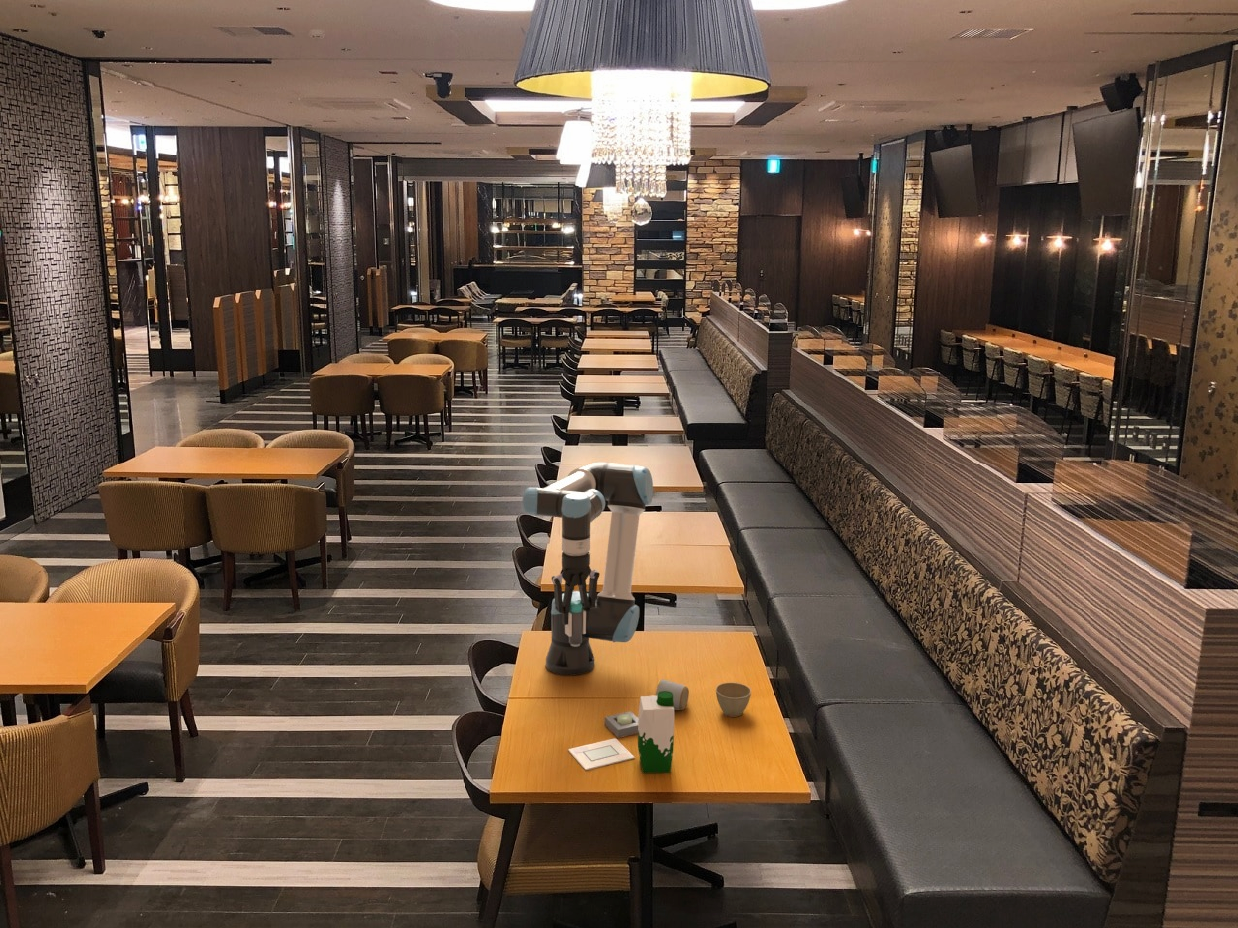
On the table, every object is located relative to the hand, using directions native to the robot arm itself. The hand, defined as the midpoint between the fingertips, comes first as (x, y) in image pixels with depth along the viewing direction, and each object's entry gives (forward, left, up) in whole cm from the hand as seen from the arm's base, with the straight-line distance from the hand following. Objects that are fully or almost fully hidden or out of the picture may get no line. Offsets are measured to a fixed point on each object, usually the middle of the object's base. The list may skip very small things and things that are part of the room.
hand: (575, 633), depth 284 cm
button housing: (+9, +11, -27) cm, 30 cm away
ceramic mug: (+3, +30, -27) cm, 40 cm away
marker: (0, 0, -3) cm, 3 cm away
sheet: (+19, -1, -27) cm, 33 cm away
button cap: (+9, +11, -26) cm, 30 cm away
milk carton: (+30, +9, -27) cm, 41 cm away
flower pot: (+14, +43, -27) cm, 53 cm away
